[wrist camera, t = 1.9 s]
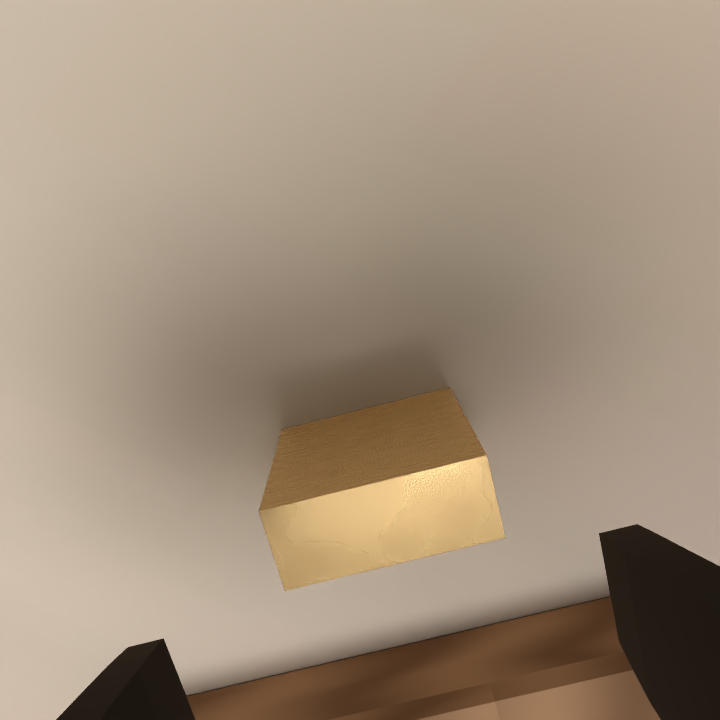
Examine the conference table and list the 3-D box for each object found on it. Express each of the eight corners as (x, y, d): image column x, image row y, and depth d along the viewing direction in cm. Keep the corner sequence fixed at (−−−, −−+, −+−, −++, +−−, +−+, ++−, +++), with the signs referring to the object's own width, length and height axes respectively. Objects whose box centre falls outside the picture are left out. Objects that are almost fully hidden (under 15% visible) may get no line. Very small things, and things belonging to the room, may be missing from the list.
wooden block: (449, 387, 18) (486, 455, 13) (464, 449, 19) (505, 537, 14) (282, 429, 18) (258, 511, 14) (300, 490, 19) (284, 590, 14)
